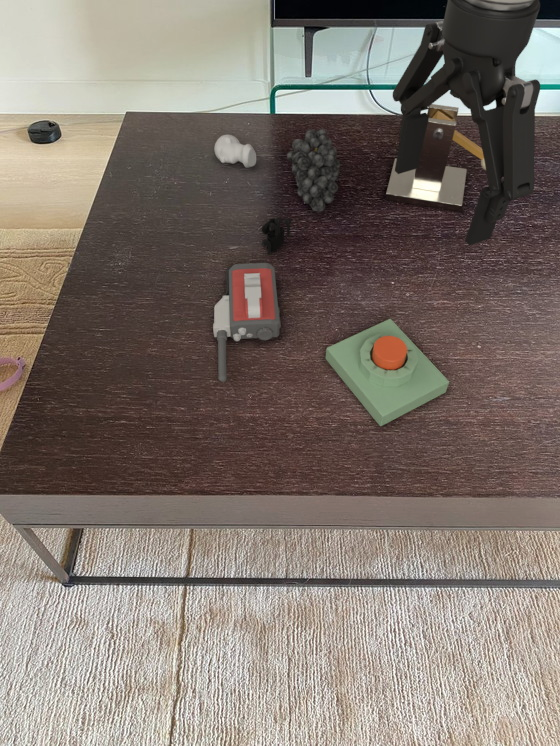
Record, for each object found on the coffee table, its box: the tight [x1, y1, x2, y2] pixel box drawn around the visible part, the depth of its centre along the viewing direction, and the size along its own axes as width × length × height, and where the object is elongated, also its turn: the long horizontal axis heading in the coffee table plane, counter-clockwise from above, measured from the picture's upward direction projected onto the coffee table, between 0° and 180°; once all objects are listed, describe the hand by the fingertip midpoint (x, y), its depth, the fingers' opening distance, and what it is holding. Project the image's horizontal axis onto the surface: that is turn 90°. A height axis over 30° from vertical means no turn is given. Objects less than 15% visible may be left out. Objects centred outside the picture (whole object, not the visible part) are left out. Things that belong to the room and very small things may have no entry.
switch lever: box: [432, 111, 486, 172], centre depth 94 cm, size 13×3×3 cm, turn 75°
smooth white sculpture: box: [213, 134, 257, 169], centre depth 105 cm, size 4×8×5 cm
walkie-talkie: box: [212, 262, 282, 383], centre depth 81 cm, size 9×4×20 cm
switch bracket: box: [384, 103, 468, 213], centre depth 97 cm, size 12×10×13 cm
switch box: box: [325, 318, 450, 427], centre depth 77 cm, size 12×10×4 cm
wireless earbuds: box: [261, 216, 292, 257], centre depth 91 cm, size 7×2×5 cm, turn 145°
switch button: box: [372, 336, 407, 370], centre depth 75 cm, size 4×4×2 cm
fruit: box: [286, 128, 341, 213], centre depth 98 cm, size 9×8×15 cm
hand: (439, 203), depth 68 cm, fingers open, 13 cm apart
